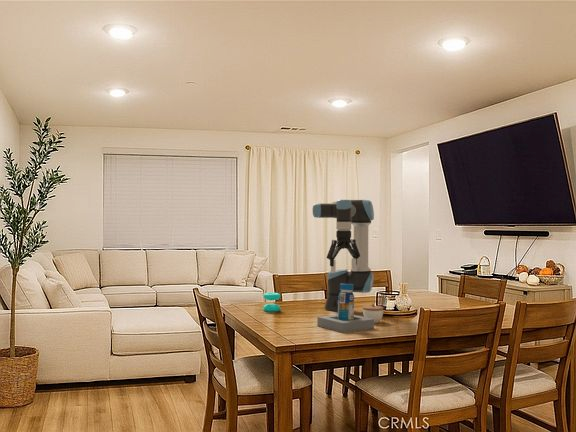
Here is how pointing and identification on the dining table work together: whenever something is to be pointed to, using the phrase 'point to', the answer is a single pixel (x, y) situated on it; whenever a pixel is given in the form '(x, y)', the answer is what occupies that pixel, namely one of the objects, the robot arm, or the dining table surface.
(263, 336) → the dining table surface
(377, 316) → the lidded jar
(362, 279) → the robot arm
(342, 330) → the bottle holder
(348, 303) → the beverage bottle
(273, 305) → the donuts
